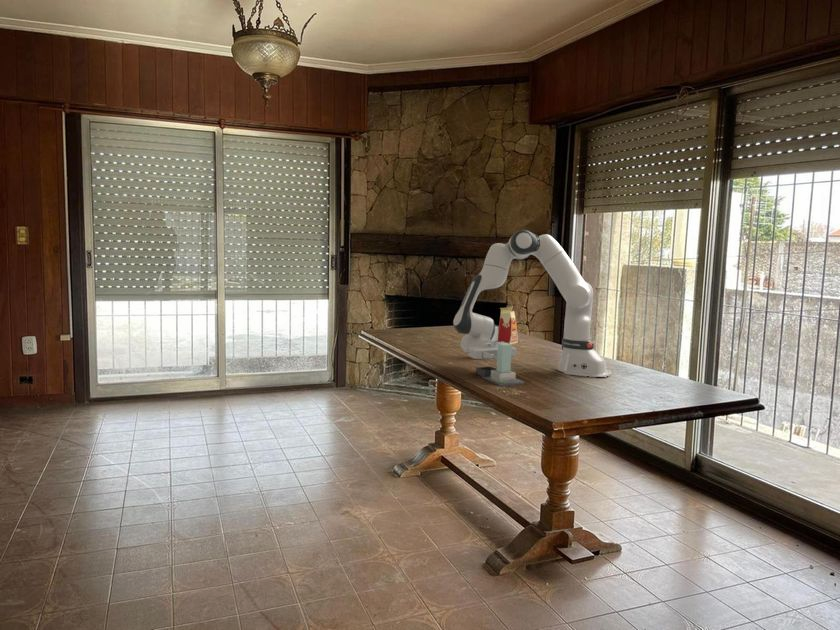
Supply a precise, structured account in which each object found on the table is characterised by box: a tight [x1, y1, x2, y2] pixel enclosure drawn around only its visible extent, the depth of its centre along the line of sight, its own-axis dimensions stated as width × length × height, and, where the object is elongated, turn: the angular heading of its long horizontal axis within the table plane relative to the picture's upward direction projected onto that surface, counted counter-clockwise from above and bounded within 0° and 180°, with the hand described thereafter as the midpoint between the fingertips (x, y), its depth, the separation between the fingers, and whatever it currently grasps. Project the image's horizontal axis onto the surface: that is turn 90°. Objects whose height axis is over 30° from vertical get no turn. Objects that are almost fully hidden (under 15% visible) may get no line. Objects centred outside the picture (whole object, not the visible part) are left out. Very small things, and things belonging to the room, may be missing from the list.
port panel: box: [481, 370, 525, 387], centre depth 254 cm, size 14×11×4 cm
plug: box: [496, 343, 513, 373], centre depth 253 cm, size 4×4×14 cm
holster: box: [475, 366, 497, 377], centre depth 264 cm, size 7×7×2 cm
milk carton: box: [497, 305, 519, 345], centre depth 343 cm, size 9×9×20 cm
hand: (502, 355), depth 254 cm, fingers open, 8 cm apart
